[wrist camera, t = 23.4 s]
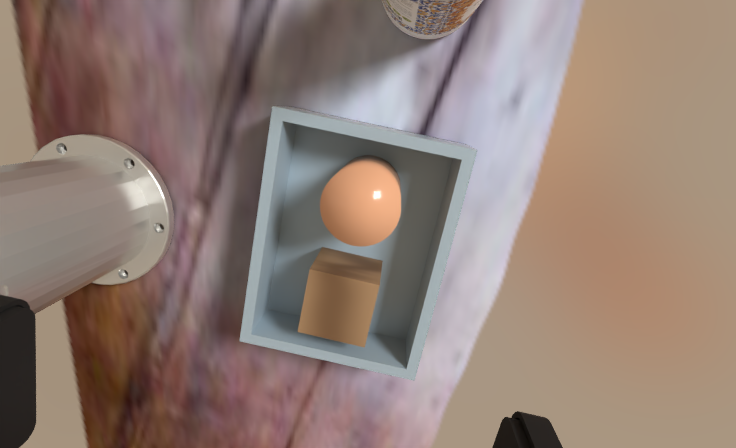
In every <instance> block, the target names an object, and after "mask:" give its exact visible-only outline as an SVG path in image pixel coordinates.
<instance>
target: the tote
mask: <svg viewBox="0 0 736 448" xmlns="http://www.w3.org/2000/svg"><path fill="white" fill-rule="evenodd" d="M476 154H477V150H476V149H474V148H472V147H470V146H468V145H466V144H462V143H458V142H453V141H448V140H444V139H439V138H434V137H430V136H425V135H420V134H416V133H411V132H407V131H402V130H397V129H393V128H388V127H383V126H379V125H374V124H369V123H365V122H360V121H355V120H351V119H346V118H341V117H337V116H332V115H327V114H323V113H318V112H314V111H309V110H304V109H300V108H295V107H285V106H272V112H271V119H270V126H269V133H268V140H267V148H266V155H265V162H264V169H263V176H262V183H261V191H260V198H259V205H258V212H257V219H256V226H255V234H254V241H253V248H252V255H251V262H250V269H249V277H248V284H247V291H246V298H245V305H244V312H243V320H242V327H241V334H240V341H241V342H245V343H250V344H254V345H259V346H263V347H267V348H272V349H276V350H281V351H285V352H290V353H294V354H298V355H303V356H307V357H312V358H316V359H321V360H325V361H330V362H334V363H338V364H343V365H347V366H352V367H356V368H361V369H365V370H369V371H374V372H378V373H383V374H387V375H392V376H396V377H401V378H405V379H409V380H415V377H416V373H417V369H418V366H419V362H420V358H421V355H422V351H423V347H424V344H425V340H426V336H427V333H428V329H429V326H430V322H431V318H432V315H433V311H434V307H435V304H436V300H437V296H438V293H439V289H440V285H441V282H442V278H443V274H444V271H445V267H446V263H447V260H448V256H449V252H450V249H451V245H452V241H453V238H454V234H455V230H456V227H457V223H458V220H459V216H460V212H461V209H462V205H463V201H464V198H465V194H466V190H467V187H468V183H469V179H470V176H471V172H472V168H473V165H474V161H475V157H476ZM364 155H373V156H377V157H380V158H383V159H384V160H386V161H388V162H389V163H390V164H391V165H392V166H393V167H394V168H395V170H396V171H397V173H398V175H399V178H400V182H401V214H400V218H399V221H398V224H397V226H396V228H395V229H394V231H393V232H392V233H391V234H390V235H389V236H388V237H387V238H386V239H384V240H383V241H381V242H379V243H377V244H374V245H370V246H352V245H349V244H346V243H343V242H342V241H340V240H338V239H337V238H336V237H334V236H333V235H332V234H331V233H330V232H329V230H328V229H327V228H326V226H325V224H324V222H323V220H322V217H321V212H320V199H321V195H322V192H323V190H324V188H325V186H326V184H327V183H328V182H329V181H330V179H331V178H332V177H333V176H334V175H335V174H336V173H337V172H338V171H340V170H341V169H342V168H343V167H344V166H345V165H346V164H347V163H348V162H349V161H350V160H352V159H354V158H356V157H359V156H364ZM322 247H325V248H330V249H334V250H338V251H343V252H347V253H351V254H356V255H360V256H364V257H369V258H373V259H377V260H381V261H383V262H382V271H381V279H380V286H379V290H378V295H377V299H376V303H375V307H374V311H373V315H372V319H371V323H370V327H369V332H368V336H367V340H366V344H365V348H364V347H360V346H356V345H352V344H347V343H343V342H339V341H334V340H330V339H326V338H322V337H317V336H313V335H309V334H305V333H300V332H298V327H299V321H300V316H301V311H302V306H303V301H304V295H305V290H306V285H307V280H308V275H309V270H310V267H311V266H312V264H313V262H314V260H315V259H316V257H317V255H318V254H319V252H320V250H321V248H322Z"/></svg>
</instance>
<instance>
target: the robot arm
mask: <svg viewBox="0 0 736 448" xmlns="http://www.w3.org/2000/svg"><path fill="white" fill-rule="evenodd" d="M134 163H135V164H134ZM162 225H163V226H164V227H163V226H162ZM173 232H174V212H173V206H172V201H171V198H170V195H169V193H168V190H167V187H166V186H165V184H164V182H163V180H162V178H161V177H160V175H159V174H158V172H157V171H156V170H155V169H154V167H153V166H152V165H151V163H150V162H149V161H147V160H146V159H145V158H144V157H143V156H142V155H141V154H140V153H139V152H137V151H136V150H134V149H133V148H131V147H129V146H128V145H126V144H125V143H122V142H120V141H117V140H115V139H113V138H110V137H105V136H100V135H88V134H81V135H72V136H66V137H62V138H59V139H56V140H54V141H52V142H50V143H49V144H47V145H45V146H44V147H42V148H41V149H40V150H39V151H38V152H37V153H36V154H35V155H34V156H33V158H32V159H31V161H30V162H26V163H18V164H11V165H3V166H0V448H19V447H20V446H21V445H23V444H24V443H25V442H26V441H27V440H28V438H29V436H30V435H31V434H32V432H33V430H34V427H35V424H36V346H35V314H36V313H37V312H39V311H41V310H43V309H45V308H46V307H48V306H50V305H52V304H54V303H55V302H57V301H59V300H61V299H63V298H64V297H66V296H68V295H70V294H72V293H73V292H75V291H77V290H79V289H81V288H82V287H84V286H86V285H88V284H90V283H95V284H102V285H115V284H122V283H127V282H129V281H132V280H135V279H137V278H139V277H141V276H142V275H144V274H146V273H147V272H149V271H150V270H151V269H152V268H154V267H155V266H156V265H157V264H158V263H159V262H160V261H161V259H162V258H163V257H164V256H165V254H166V252H167V250H168V248H169V246H170V244H171V240H172V236H173ZM493 448H563V447H562V445H561V443H560V441H559V440H558V437H557V435H556V433H555V431H554V429H553V427H552V424H551V423H550V421H549V420H548V419H547V418H545V417H540V416H536V415H532V414H527V413H522V412H515V413H514V414H513V415H512V418H508V417H505V418H504V419H503V420H502V422H501V425H500V428H499V431H498V434H497V436H496V439H495V442H494V445H493Z"/></svg>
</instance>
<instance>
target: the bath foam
mask: <svg viewBox="0 0 736 448" xmlns="http://www.w3.org/2000/svg"><path fill="white" fill-rule="evenodd" d="M482 1H483V0H382V3H383V6H384V9H385V11H386V13H387V15H388V17H389V18H390V20H391V21H392V22H393V23H394V24H395V26H397V27H398V28H399V29H400V30H401V31H403V32H404V33H406V34H408V35H410V36H412V37H415V38H419V39H437V38H441V37H444V36H447V35H449V34H451V33H453V32H454V31H456V30H457V29H459V28H460V27H461V26H462V25H463V24H464V23H465V22H466V21H467V20H468V19H469V18H470V16H471V15H472V14H473V13H474V11H475V10H476V9H477V7H478V6H479V5H480V3H481V2H482Z"/></svg>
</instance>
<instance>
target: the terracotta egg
mask: <svg viewBox="0 0 736 448" xmlns="http://www.w3.org/2000/svg"><path fill="white" fill-rule="evenodd" d="M320 212H321V217H322V220H323V222H324V224H325V226H326V228H327V229H328V230H329V232H330V233H331V234H332V235H333V236H334V237H336V238H337V239H338V240H340V241H342V242H343V243H346V244H349V245H352V246H370V245H374V244H377V243H379V242H381V241H383V240H384V239H386V238H387V237H388V236H389V235H390V234H391V233H392V232H393V231H394V229H395V228H396V226H397V224H398V221H399V218H400V214H401V182H400V178H399V175H398V173H397V171H396V170H395V168H394V167H393V166H392V165H391V164H390V163H389V162H388V161H386V160H384V159H383V158H380V157H377V156H373V155H364V156H359V157H356V158H354V159H352V160H350V161H349V162H348V163H347V164H346V165H345V166H344V167H343V168H342V169H341V170H340V171H338V172H337V173H336V174H335V175H334V176H333V177H332V178H331V179H330V181H329V182H328V183H327V184H326V186H325V188H324V190H323V192H322V195H321V199H320Z"/></svg>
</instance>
